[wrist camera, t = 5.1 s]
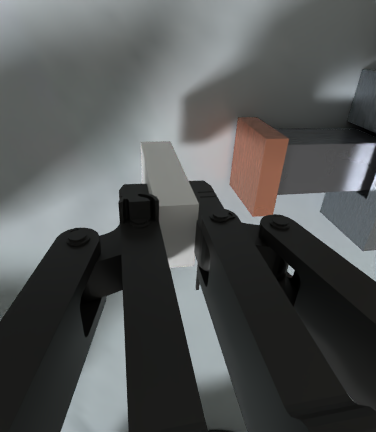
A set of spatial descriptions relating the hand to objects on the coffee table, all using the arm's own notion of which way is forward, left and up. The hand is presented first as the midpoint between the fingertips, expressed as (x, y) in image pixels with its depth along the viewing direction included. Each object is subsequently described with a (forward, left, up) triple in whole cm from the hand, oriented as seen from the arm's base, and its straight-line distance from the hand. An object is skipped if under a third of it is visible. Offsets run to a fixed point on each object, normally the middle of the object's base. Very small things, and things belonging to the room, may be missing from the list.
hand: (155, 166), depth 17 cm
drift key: (+9, 0, -3) cm, 10 cm away
